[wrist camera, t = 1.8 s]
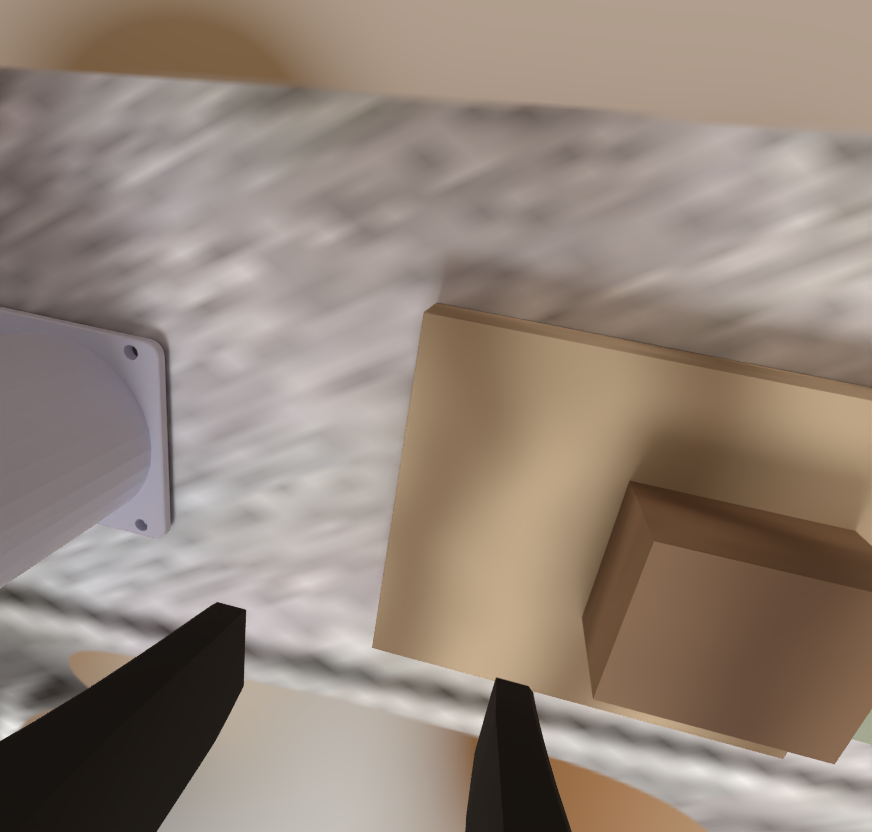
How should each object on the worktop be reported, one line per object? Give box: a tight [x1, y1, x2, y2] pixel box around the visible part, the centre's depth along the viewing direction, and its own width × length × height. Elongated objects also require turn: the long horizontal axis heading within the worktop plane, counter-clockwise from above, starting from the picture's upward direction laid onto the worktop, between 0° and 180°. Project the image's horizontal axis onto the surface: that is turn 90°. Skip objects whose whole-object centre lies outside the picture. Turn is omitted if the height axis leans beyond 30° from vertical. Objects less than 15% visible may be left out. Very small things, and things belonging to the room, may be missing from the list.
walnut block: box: [582, 481, 872, 764], centre depth 13 cm, size 6×5×3 cm
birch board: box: [372, 303, 872, 759], centre depth 16 cm, size 14×12×2 cm
